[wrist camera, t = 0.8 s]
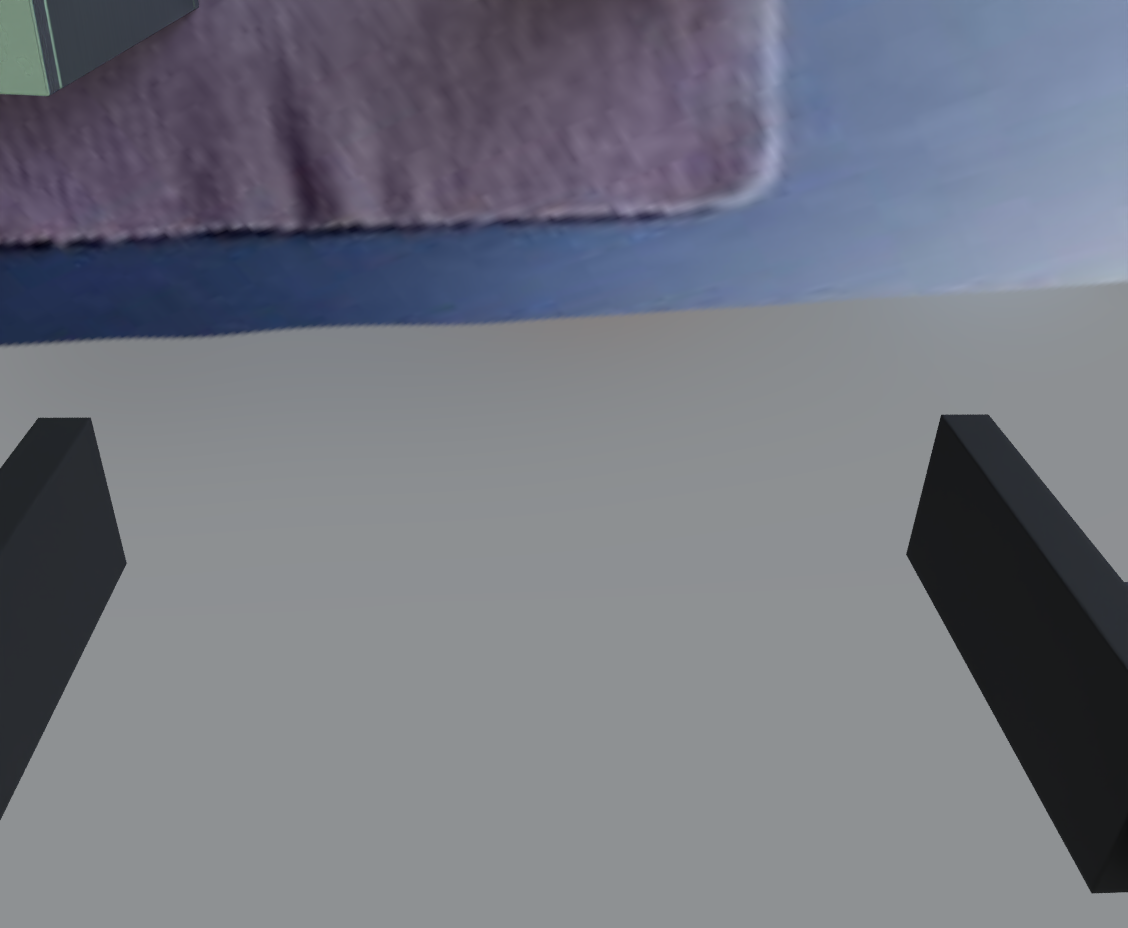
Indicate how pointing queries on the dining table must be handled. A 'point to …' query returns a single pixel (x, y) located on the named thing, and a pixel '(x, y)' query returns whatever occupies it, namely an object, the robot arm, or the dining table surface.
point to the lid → (26, 50)
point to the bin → (104, 29)
